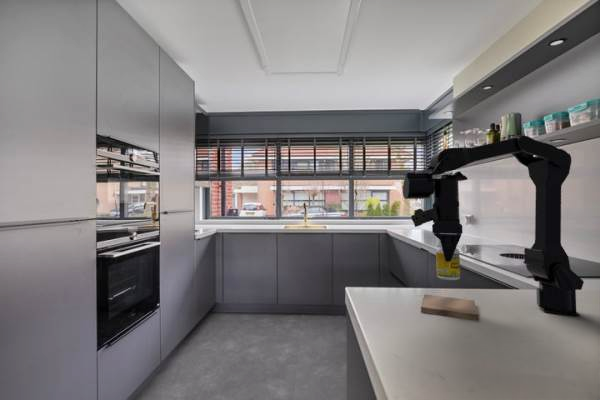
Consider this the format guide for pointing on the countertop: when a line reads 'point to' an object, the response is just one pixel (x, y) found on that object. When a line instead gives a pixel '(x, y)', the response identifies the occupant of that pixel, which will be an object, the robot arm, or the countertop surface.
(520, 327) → the countertop surface
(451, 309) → the walnut board
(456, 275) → the supplement bottle
